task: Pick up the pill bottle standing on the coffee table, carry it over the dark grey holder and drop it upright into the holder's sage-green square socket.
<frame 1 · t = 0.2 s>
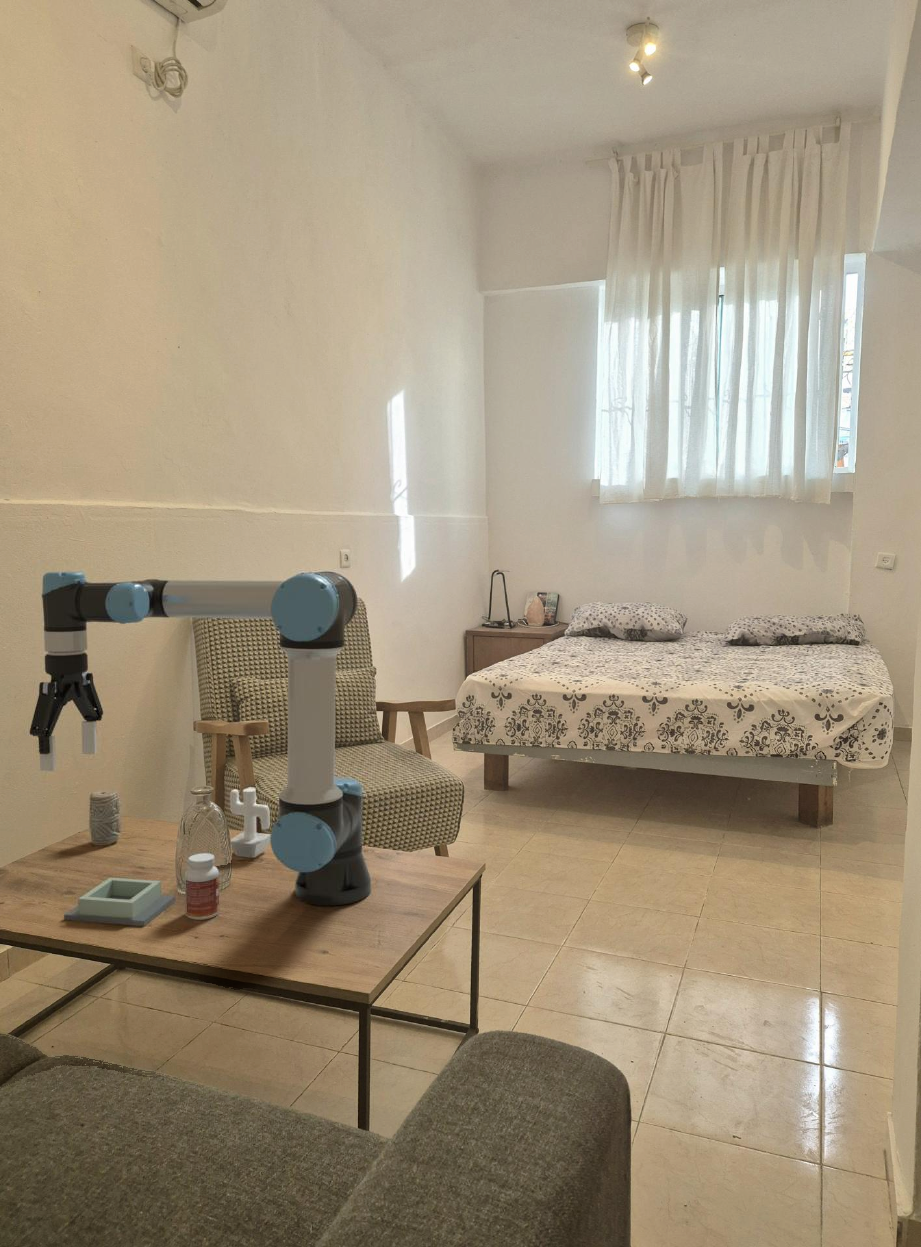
hand: (69, 761, 173), 28 cm above the table, tool pointing down, fingers open, 13 cm apart
bottle holder: (121, 910, 171), on the table
carving: (105, 843, 209), on the table
pill bottle: (202, 915, 170), on the table
figurine: (250, 854, 203), on the table
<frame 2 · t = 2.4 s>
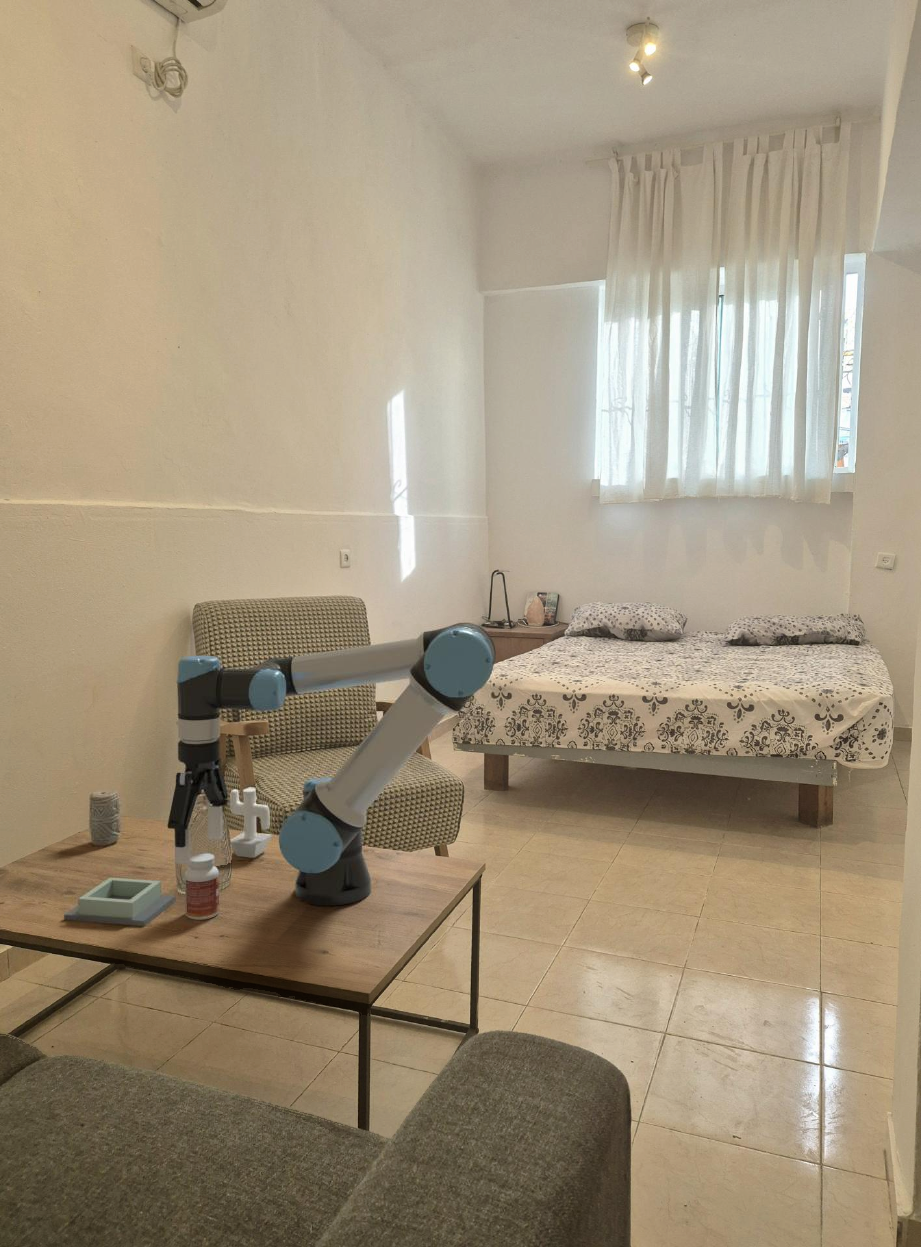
hand: (199, 850, 169), 12 cm above the table, tool pointing down, fingers open, 13 cm apart
nothing on the table moved.
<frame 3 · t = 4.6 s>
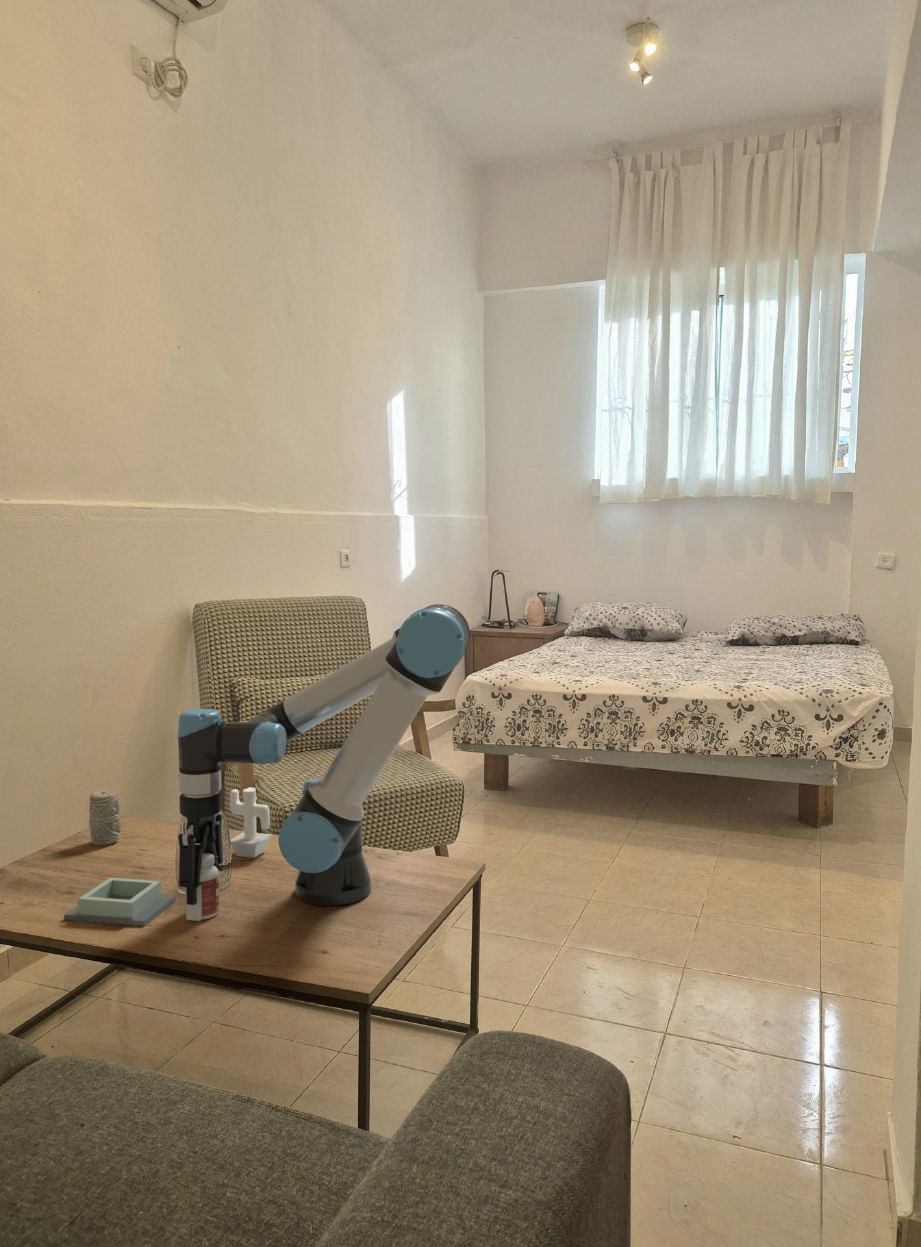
hand: (202, 911, 170), 0 cm above the table, tool pointing down, fingers closed on pill bottle, 6 cm apart
pill bottle: (202, 915, 170), on the table, touching gripper
everything else where it was.
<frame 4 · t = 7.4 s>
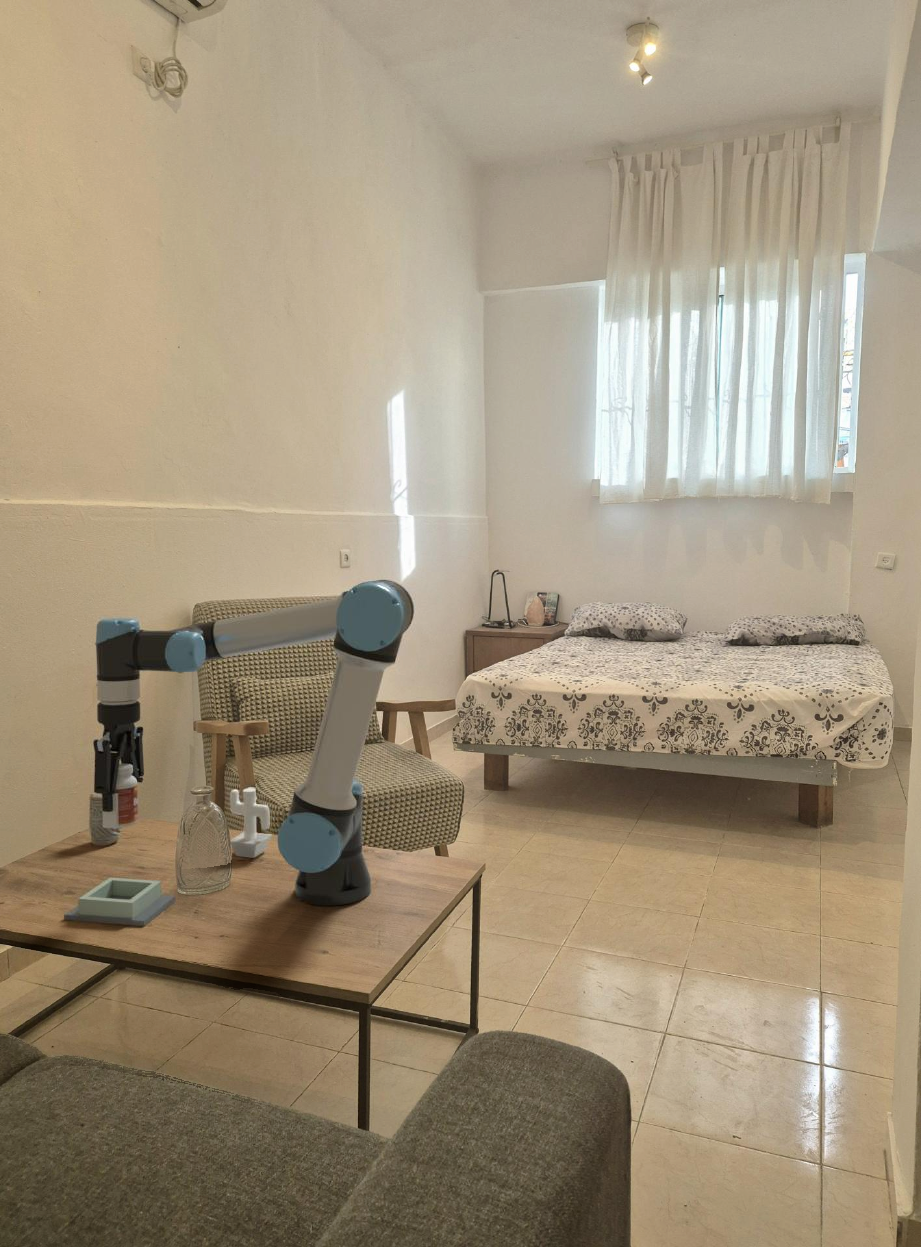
hand: (120, 821, 170), 17 cm above the table, tool pointing down, fingers closed on pill bottle, 6 cm apart
pill bottle: (120, 824, 170), point 17 cm above the table, touching gripper
everything else where it was.
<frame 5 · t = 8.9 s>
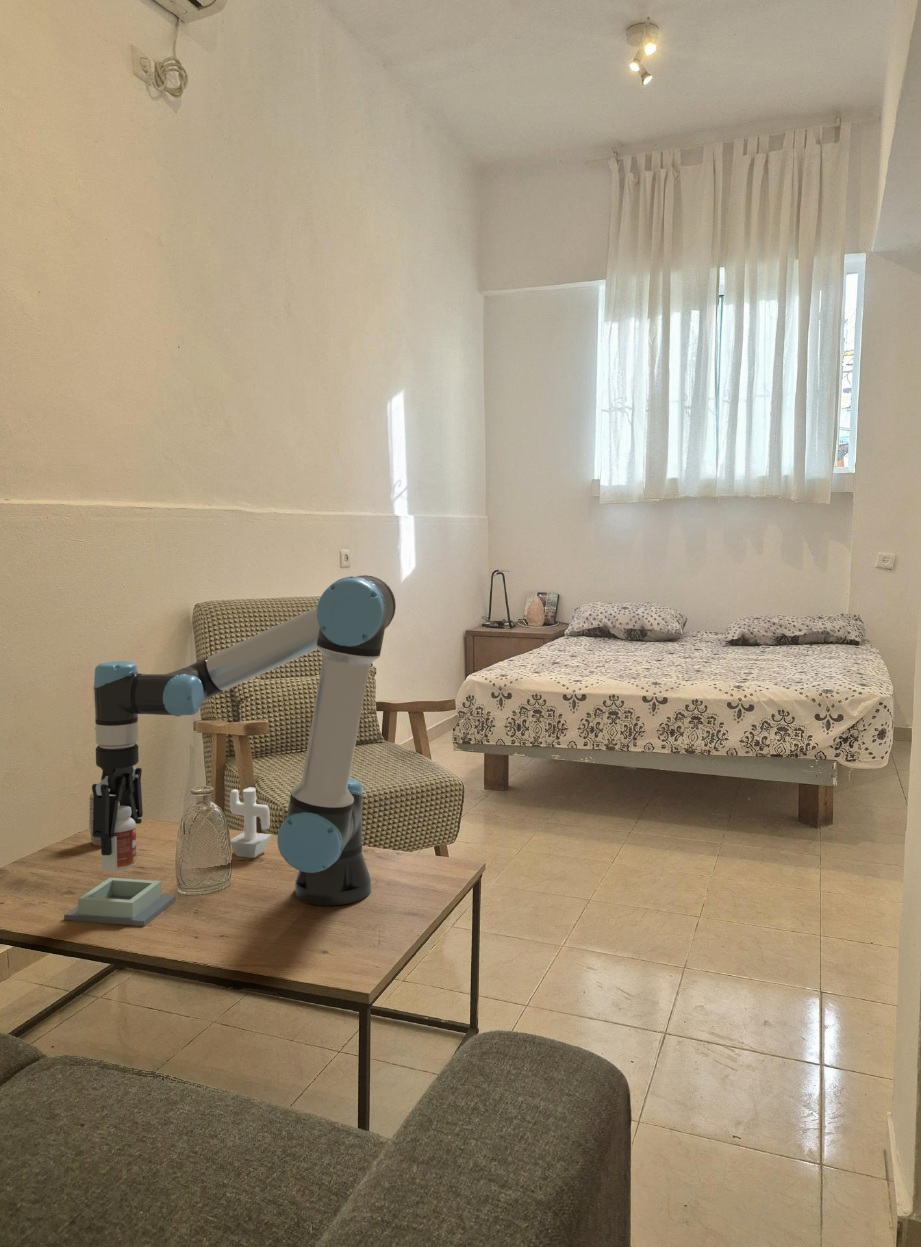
hand: (119, 863, 170), 9 cm above the table, tool pointing down, fingers closed on pill bottle, 6 cm apart
pill bottle: (119, 866, 170), point 8 cm above the table, touching gripper
everything else where it was.
when the fingers open (6 cm above the table, at t = 10.3 s): pill bottle drops 4 cm, resting on bottle holder.
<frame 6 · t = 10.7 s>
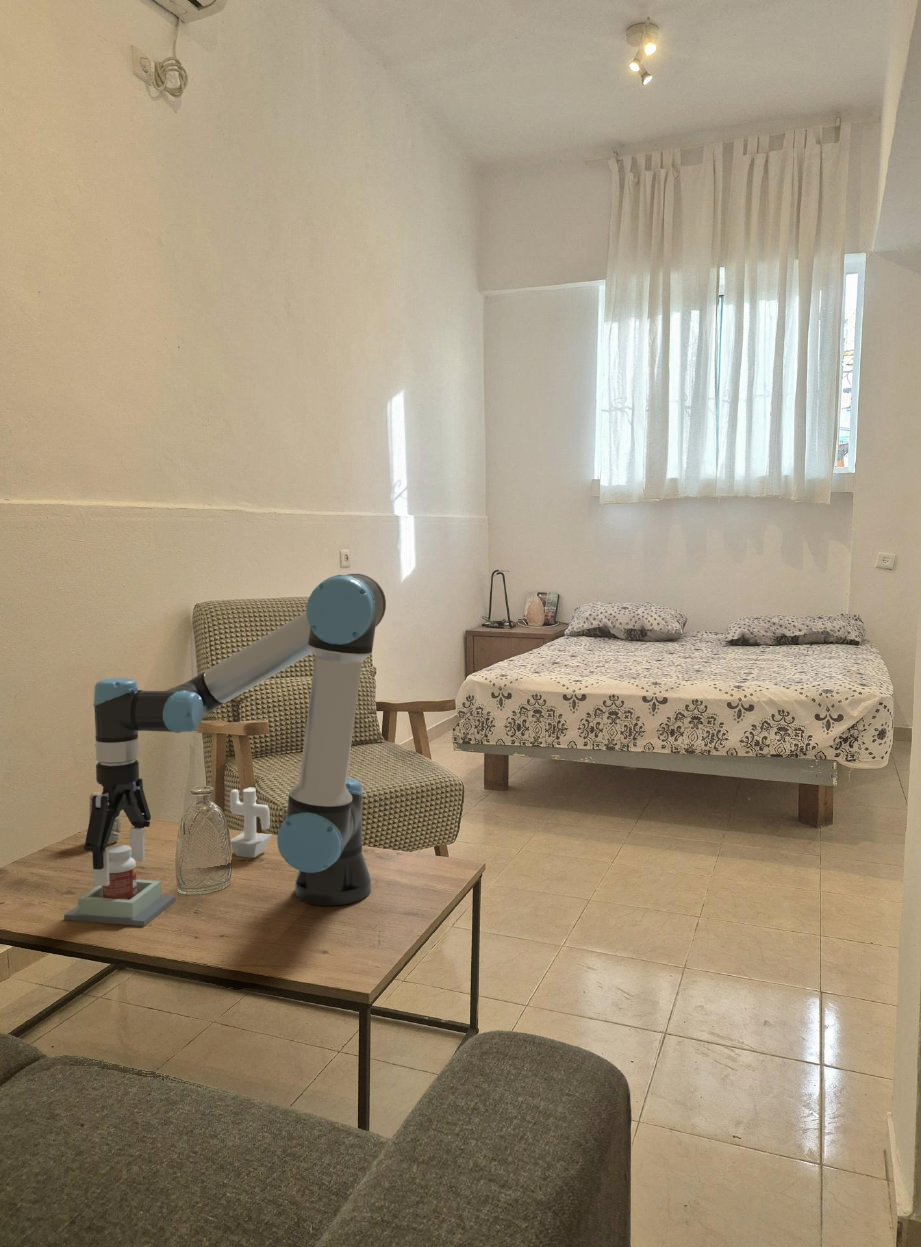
hand: (120, 872, 171), 7 cm above the table, tool pointing down, fingers open, 12 cm apart
pill bottle: (120, 906, 171), point 1 cm above the table, touching bottle holder
everything else where it was.
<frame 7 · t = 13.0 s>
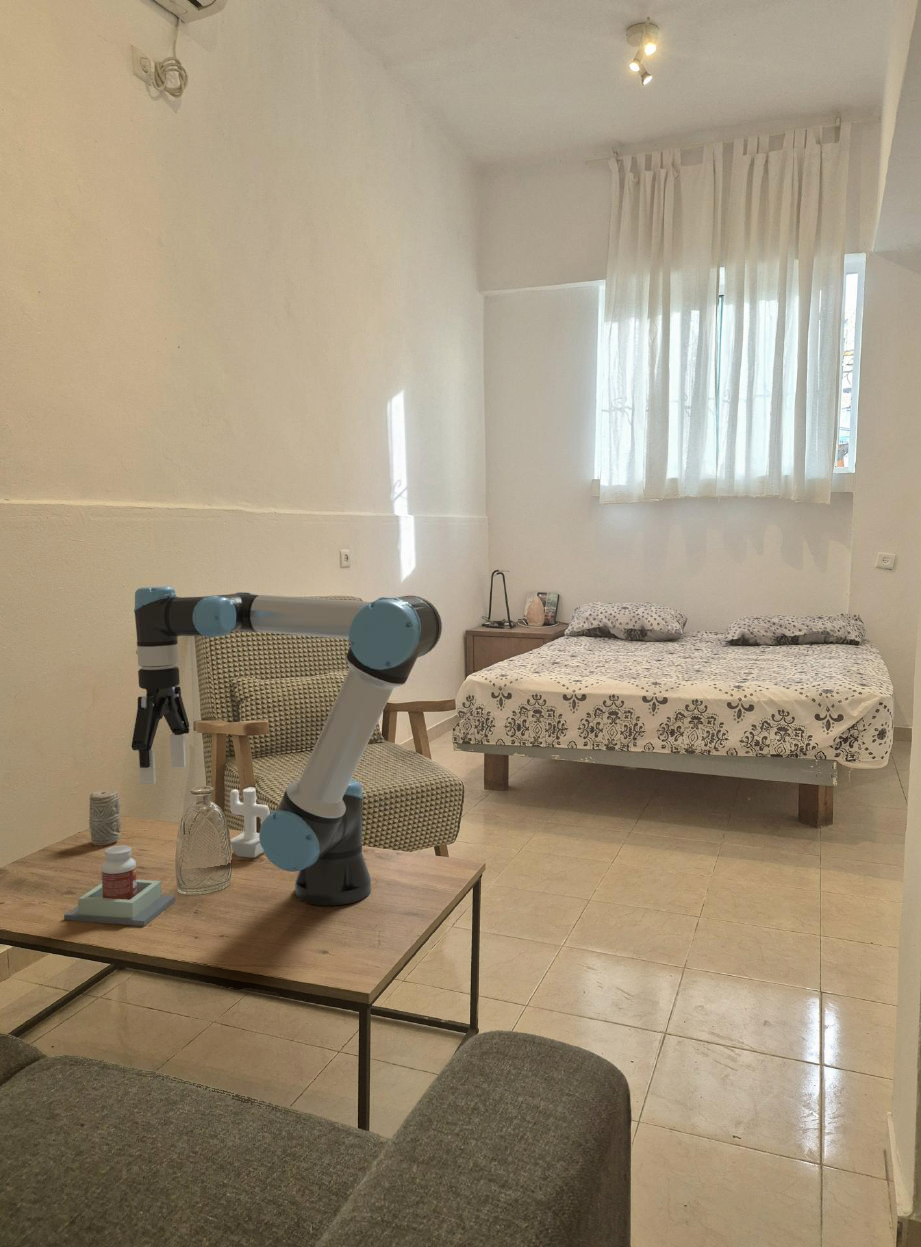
hand: (164, 775, 175), 25 cm above the table, tool pointing down, fingers open, 13 cm apart
nothing on the table moved.
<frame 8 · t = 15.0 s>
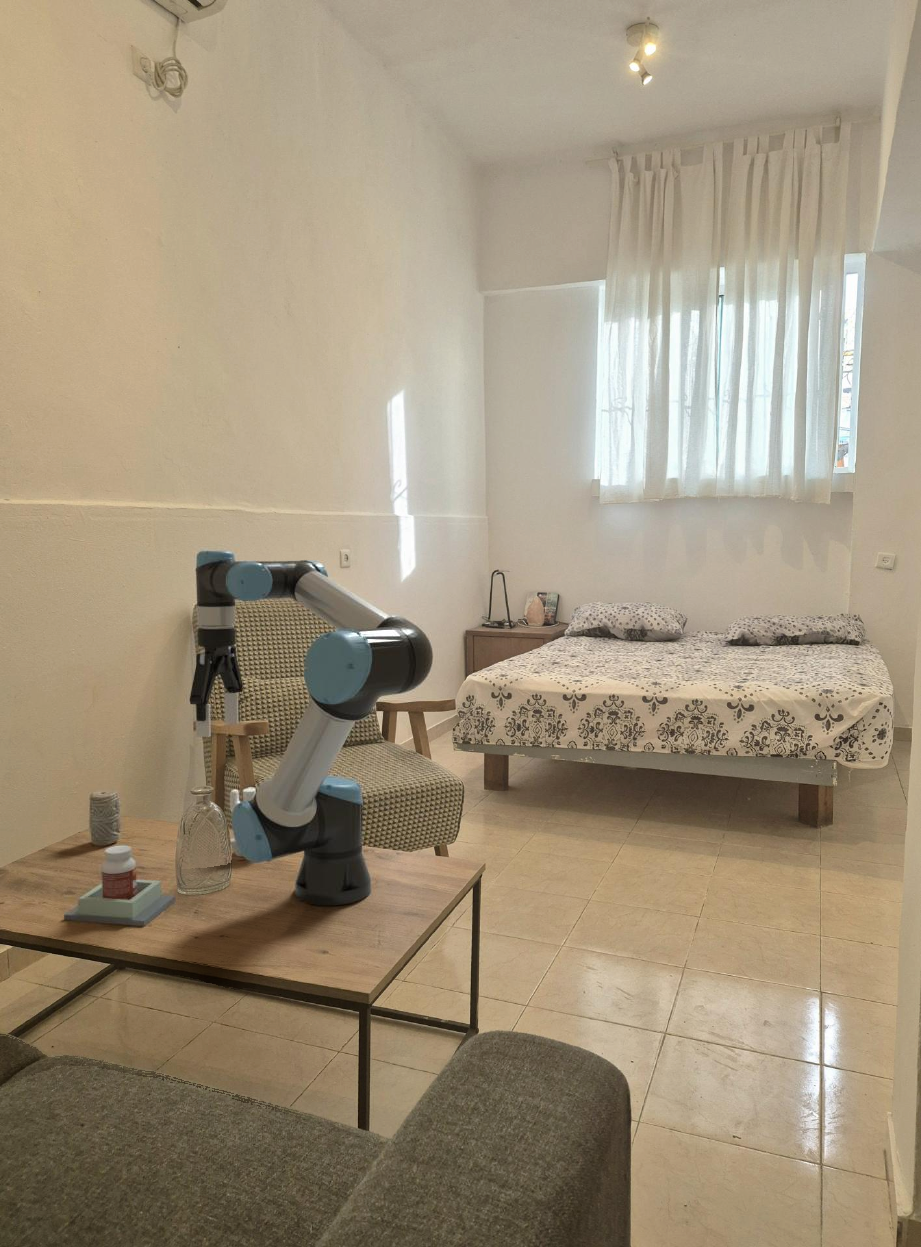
hand: (218, 729, 184), 32 cm above the table, tool pointing down, fingers open, 13 cm apart
nothing on the table moved.
at the end: pill bottle 0.5 cm off-centre on the bottle holder, point 0.8 cm above the bottle holder's base; pill bottle tilted 0°; the gripper is holding nothing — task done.
